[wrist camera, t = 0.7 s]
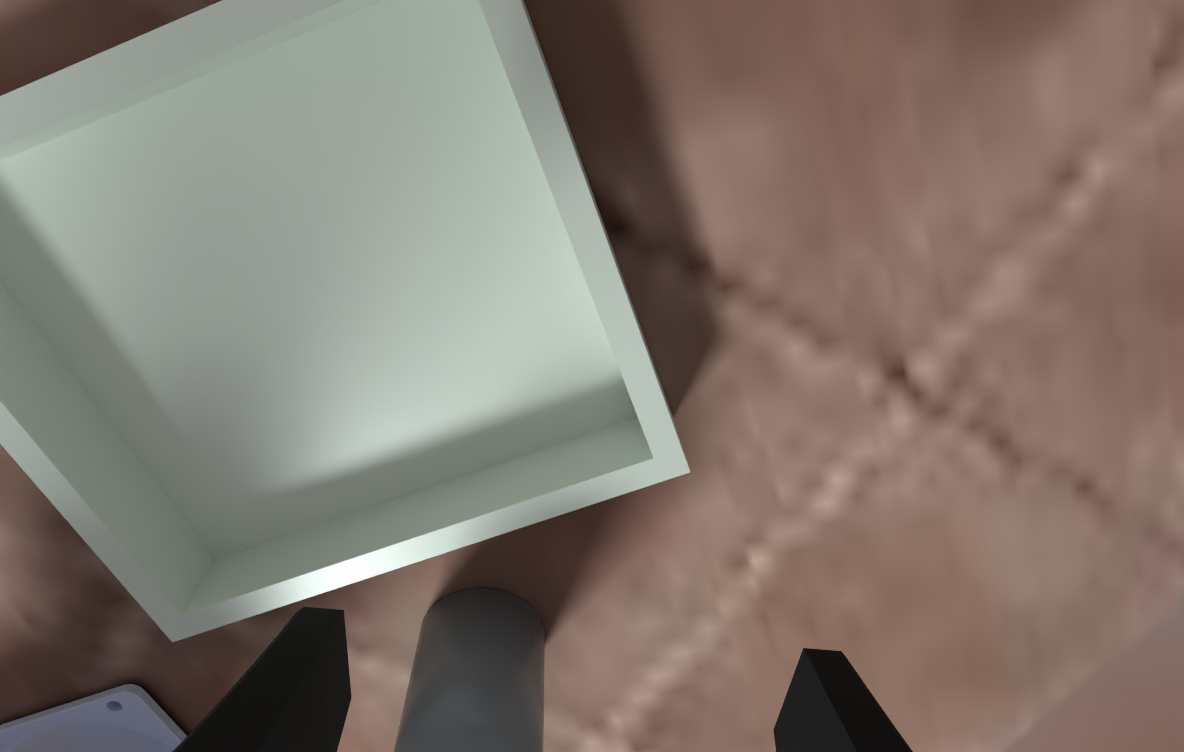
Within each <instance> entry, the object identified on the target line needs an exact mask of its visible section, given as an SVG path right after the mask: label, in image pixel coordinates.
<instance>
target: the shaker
mask: <svg viewBox="0 0 1184 752" xmlns="http://www.w3.org/2000/svg"><path fill="white" fill-rule="evenodd" d="M544 647H545V633H544V626H543V622H542V620H541V618H540V616H539V614H538V613H537V611H536V610H535V609H534V608H533V607H532V606H531V605H530V604H529V603H528V602H526V601H525V600H523V599H522V598H520V597H518V596H516V595H514V594H512V593H509V592H507V591H503V590H499V589H493V588H471V589H465V590H461V591H457V592H455V593H452V594H450V595H448V596H446V597H444V598H442V599H441V600H439V601H438V602H437V603H436V604H434V605H433V606H432V607H431V609H430V610H429V611H428V612H427V614H426V616H425V617H424V620H423V622H422V626H421V631H420V635H419V640H418V644H417V649H416V654H415V658H414V663H413V667H412V672H411V676H410V681H409V685H408V690H407V694H406V699H405V703H404V708H403V712H402V717H401V722H400V726H399V731H398V735H397V740H396V744H395V749H394V752H543V729H544Z"/></svg>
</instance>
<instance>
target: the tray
mask: <svg viewBox="0 0 1184 752" xmlns="http://www.w3.org/2000/svg"><path fill="white" fill-rule="evenodd" d="M0 444H1V445H2V446H3V447H4V449H5V450H6V451H7V452H8V453H9V454H10V455H11V457H12V458H13V459H14V460H15V461H16V462H17V464H18V465H19V466H20V467H21V468H22V469H23V471H24V472H25V473H26V474H27V475H28V476H29V477H30V479H31V480H32V481H33V482H34V483H35V484H36V486H37V487H38V488H39V489H40V490H41V491H42V492H43V494H44V495H45V496H46V497H47V498H48V499H49V501H50V502H51V503H52V504H53V505H54V506H55V507H56V509H57V510H58V511H59V512H60V513H61V514H62V516H63V517H64V518H65V519H66V520H67V521H68V522H69V524H70V525H71V526H72V527H73V528H74V529H75V531H76V532H77V533H78V534H79V535H80V536H81V537H82V539H83V540H84V541H85V542H86V543H87V544H88V546H89V547H90V548H91V549H92V550H93V551H94V553H95V554H96V555H97V556H98V557H99V558H100V559H101V561H102V562H103V563H104V564H105V565H106V566H107V568H108V569H109V570H110V571H111V572H112V573H113V574H114V576H115V577H116V578H117V579H118V580H119V581H120V583H121V584H122V585H123V586H124V587H125V588H126V589H127V591H128V592H129V593H130V594H131V595H132V596H133V598H134V599H135V600H136V601H137V602H138V603H139V604H140V606H141V607H142V608H143V609H144V610H145V611H146V613H147V614H148V615H149V616H150V617H151V618H152V619H153V621H154V622H155V623H156V624H157V625H158V626H159V628H160V629H161V630H162V631H163V632H164V633H165V635H166V636H167V637H168V638H169V639H170V640H171V641H172V642H175V641H178V640H181V639H185V638H188V637H191V636H194V635H197V634H200V633H203V632H206V631H209V630H212V629H215V628H218V627H221V626H224V625H227V624H230V623H233V622H236V621H239V620H242V619H245V618H248V617H251V616H255V615H258V614H261V613H264V612H267V611H270V610H273V609H276V608H279V607H282V606H285V605H288V604H291V603H294V602H297V601H300V600H303V599H306V598H309V597H312V596H315V595H318V594H321V593H324V592H328V591H331V590H334V589H337V588H340V587H343V586H346V585H349V584H352V583H355V582H358V581H361V580H364V579H367V578H370V577H373V576H376V575H379V574H382V573H385V572H388V571H391V570H394V569H398V568H401V567H404V566H407V565H410V564H413V563H416V562H419V561H422V560H425V559H428V558H431V557H434V556H437V555H440V554H443V553H446V552H449V551H452V550H455V549H458V548H461V547H464V546H468V545H471V544H474V543H477V542H480V541H483V540H486V539H489V538H492V537H495V536H498V535H501V534H504V533H507V532H510V531H513V530H516V529H519V528H522V527H525V526H528V525H531V524H534V523H538V522H541V521H544V520H547V519H550V518H553V517H556V516H559V515H562V514H565V513H568V512H571V511H574V510H577V509H580V508H583V507H586V506H589V505H592V504H595V503H598V502H601V501H604V500H608V499H611V498H614V497H617V496H620V495H623V494H626V493H629V492H632V491H635V490H638V489H641V488H644V487H647V486H650V485H653V484H656V483H659V482H662V481H665V480H668V479H671V478H674V477H677V476H681V475H684V474H687V473H690V469H689V466H688V463H687V460H686V457H685V454H684V450H683V447H682V444H681V441H680V438H679V435H678V432H677V428H676V425H675V422H674V419H673V416H672V413H671V411H670V408H669V405H668V402H667V399H666V397H665V394H664V391H663V388H662V385H661V383H660V380H659V377H658V374H657V371H656V369H655V366H654V363H653V360H652V357H651V355H650V352H649V349H648V346H647V343H646V341H645V338H644V335H643V332H642V329H641V327H640V324H639V321H638V318H637V315H636V313H635V310H634V307H633V304H632V301H631V299H630V296H629V293H628V290H627V287H626V285H625V282H624V279H623V276H622V273H621V271H620V268H619V265H618V262H617V259H616V257H615V254H614V251H613V248H612V245H611V243H610V240H609V237H608V234H607V231H606V229H605V226H604V223H603V220H602V217H601V215H600V212H599V209H598V206H597V203H596V201H595V198H594V195H593V192H592V189H591V187H590V184H589V181H588V178H587V175H586V173H585V170H584V167H583V164H582V161H581V159H580V156H579V153H578V150H577V148H576V145H575V142H574V139H573V136H572V134H571V131H570V128H569V125H568V122H567V120H566V117H565V114H564V111H563V108H562V106H561V103H560V100H559V97H558V94H557V92H556V89H555V86H554V83H553V80H552V78H551V75H550V72H549V69H548V66H547V64H546V61H545V58H544V55H543V52H542V50H541V47H540V44H539V41H538V38H537V36H536V33H535V30H534V27H533V24H532V22H531V19H530V16H529V13H528V10H527V8H526V5H525V2H524V0H222V1H219V2H217V3H215V4H212V5H210V6H208V7H205V8H203V9H201V10H198V11H196V12H194V13H191V14H189V15H187V16H185V17H182V18H180V19H178V20H175V21H173V22H171V23H168V24H166V25H164V26H161V27H159V28H157V29H154V30H152V31H150V32H148V33H145V34H143V35H141V36H138V37H136V38H134V39H131V40H129V41H127V42H124V43H122V44H120V45H117V46H115V47H113V48H110V49H108V50H106V51H104V52H101V53H99V54H97V55H94V56H92V57H90V58H87V59H85V60H83V61H80V62H78V63H76V64H73V65H71V66H69V67H66V68H64V69H62V70H60V71H57V72H55V73H53V74H50V75H48V76H46V77H43V78H41V79H39V80H36V81H34V82H32V83H29V84H27V85H25V86H23V87H20V88H18V89H16V90H13V91H11V92H9V93H6V94H4V95H2V96H0Z"/></svg>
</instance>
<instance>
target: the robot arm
mask: <svg viewBox="0 0 1184 752" xmlns="http://www.w3.org/2000/svg"><path fill="white" fill-rule="evenodd" d="M350 701H351V687H350V676H349V665H348V654H347V642H346V631H345V620H344V610H335V609H322V608H310V607H303V608H302V609H300V610H299V611H297V612H296V613H295V615H294V616H293V617H292V618H291V620H290V621H289V622H288V623H287V625H286V626H285V627H284V628H283V629H282V631H281V632H280V633H279V634H278V635H277V637H276V638H275V639H274V640H273V641H272V643H271V644H270V645H269V646H268V647H267V648H266V650H265V651H264V652H263V653H262V654H261V656H260V657H259V658H258V659H257V660H256V661H255V663H254V664H253V665H252V666H251V667H250V668H249V669H248V670H247V672H246V673H245V674H244V675H243V676H242V677H241V678H240V680H239V681H238V682H237V683H236V684H235V685H234V686H233V687H232V689H231V690H230V691H229V692H228V693H227V694H226V695H225V696H224V697H223V698H222V699H221V701H220V702H219V703H218V704H217V705H216V706H215V707H214V708H213V709H212V710H211V711H210V712H209V714H208V715H207V716H206V717H205V718H204V719H203V720H202V721H201V722H200V723H199V724H198V725H197V726H196V728H195V729H194V730H193V731H192V732H191V733H190V734H189V735H188V736H187V735H186V734H185V733H184V732H183V731H182V730H181V729H180V728H179V727H178V726H177V725H176V724H175V722H174V721H173V720H172V719H171V718H170V717H169V716H168V715H167V714H166V713H165V712H164V711H163V710H162V708H161V707H160V706H159V705H158V704H157V703H156V702H155V701H154V700H153V699H152V698H151V697H150V696H149V694H148V693H147V692H146V691H145V690H144V689H143V688H141V687H140V686H137V685H134V684H127V685H122V686H119V687H116V688H113V689H110V690H107V691H103V692H100V693H97V694H94V695H91V696H88V697H85V698H82V699H79V700H76V701H73V702H70V703H66V704H63V705H60V706H57V707H54V708H51V709H48V710H45V711H42V712H39V713H36V714H33V715H29V716H26V717H23V718H20V719H17V720H14V721H11V722H8V723H5V724H2V725H0V752H337V748H338V745H339V741H340V738H341V734H342V731H343V727H344V723H345V719H346V716H347V712H348V708H349V704H350ZM774 737H775V745H776V752H913V751H912V750H911V749H910V747H909V746H908V745H907V743H906V742H905V740H904V739H903V738H902V736H901V735H900V733H899V732H898V731H897V729H896V728H895V726H894V725H893V724H892V722H891V721H890V719H889V718H888V717H887V715H886V714H885V712H884V711H883V709H882V708H881V707H880V705H879V704H878V702H877V701H876V699H875V698H874V697H873V695H872V694H871V692H870V691H869V689H868V688H867V687H866V685H865V684H864V682H863V681H862V679H861V678H860V677H859V675H858V674H857V672H856V671H855V669H854V668H853V666H852V665H851V664H850V662H849V661H848V659H847V658H846V657H845V655H844V654H843V653H842V652H841V651H831V650H819V649H807V648H803V651H802V654H801V656H800V659H799V662H798V665H797V667H796V670H795V673H794V675H793V678H792V681H791V684H790V686H789V689H788V692H787V695H786V697H785V700H784V703H783V706H782V708H781V711H780V714H779V717H778V719H777V722H776V725H775V728H774Z"/></svg>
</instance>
